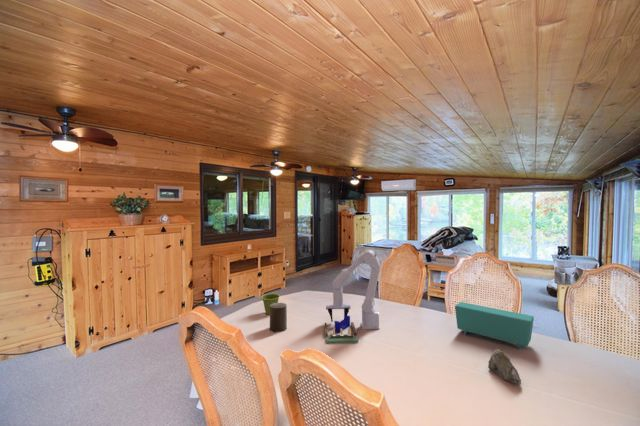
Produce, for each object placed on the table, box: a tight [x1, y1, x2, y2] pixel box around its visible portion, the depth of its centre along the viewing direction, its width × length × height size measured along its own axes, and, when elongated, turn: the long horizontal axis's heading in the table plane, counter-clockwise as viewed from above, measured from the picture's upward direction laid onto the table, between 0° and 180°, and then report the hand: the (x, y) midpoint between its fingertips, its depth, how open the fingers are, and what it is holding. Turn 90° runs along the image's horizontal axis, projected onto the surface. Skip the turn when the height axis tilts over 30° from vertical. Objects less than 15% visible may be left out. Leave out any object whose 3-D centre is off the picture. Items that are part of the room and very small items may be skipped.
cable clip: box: [334, 314, 351, 334], centre depth 168 cm, size 12×4×6 cm, turn 145°
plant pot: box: [261, 293, 281, 316], centre depth 193 cm, size 12×12×11 cm
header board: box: [325, 327, 359, 344], centre depth 152 cm, size 16×6×5 cm, turn 91°
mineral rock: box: [487, 348, 522, 386], centre depth 118 cm, size 13×11×10 cm
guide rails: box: [324, 321, 358, 338], centre depth 164 cm, size 17×15×2 cm
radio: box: [454, 301, 535, 350], centre depth 152 cm, size 34×10×15 cm, turn 47°
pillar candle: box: [269, 302, 288, 333], centre depth 169 cm, size 10×10×15 cm
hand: (338, 321), depth 175 cm, fingers open, 7 cm apart
